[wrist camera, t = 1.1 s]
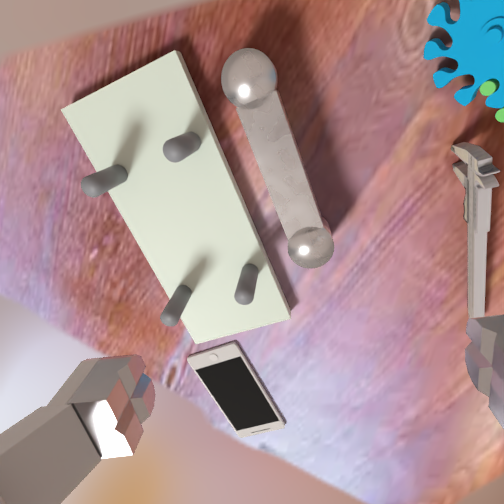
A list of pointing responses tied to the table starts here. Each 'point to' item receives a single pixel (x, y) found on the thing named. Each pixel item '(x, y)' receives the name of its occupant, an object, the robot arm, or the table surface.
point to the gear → (472, 49)
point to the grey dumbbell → (277, 155)
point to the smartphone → (236, 390)
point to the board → (178, 199)
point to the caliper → (476, 216)
